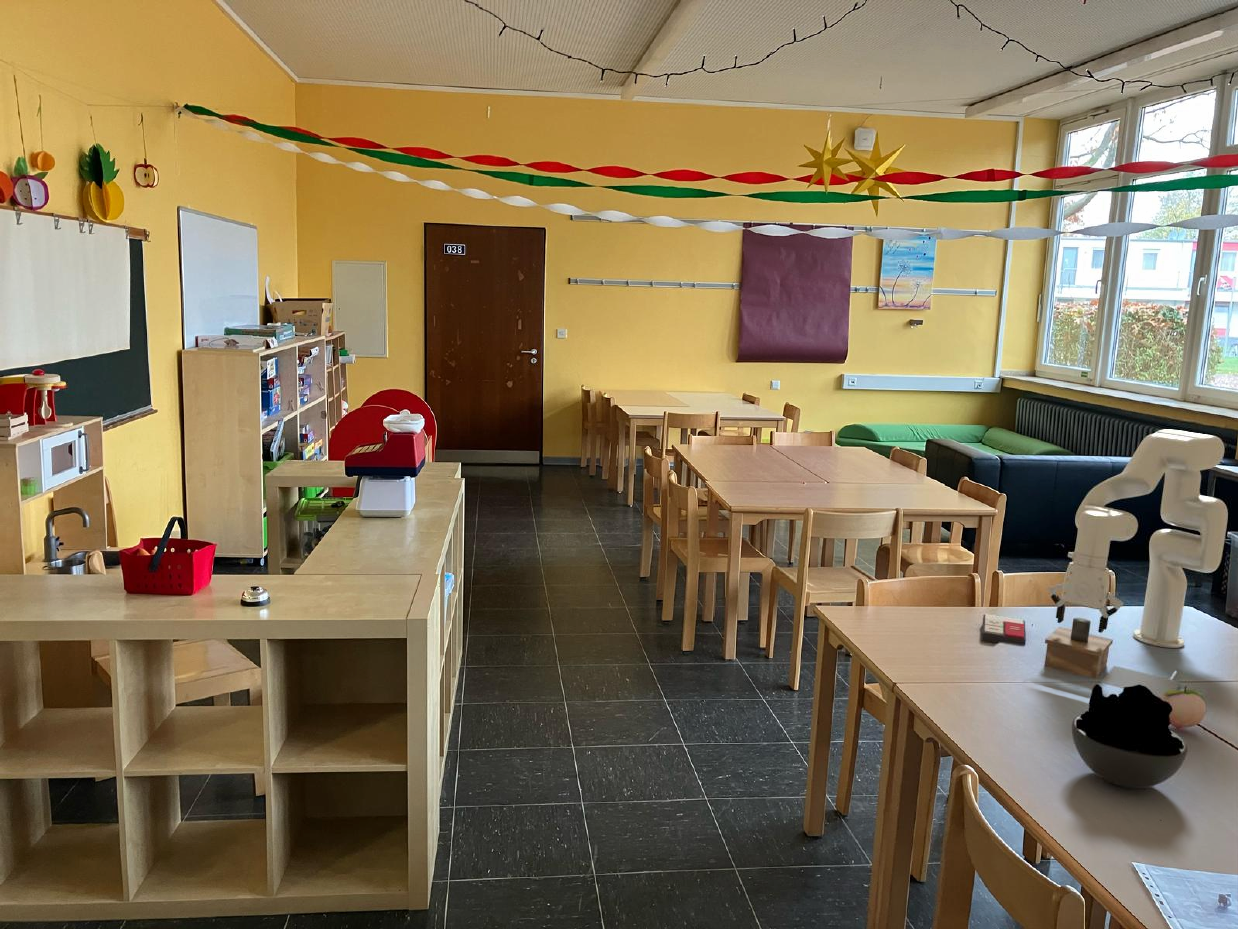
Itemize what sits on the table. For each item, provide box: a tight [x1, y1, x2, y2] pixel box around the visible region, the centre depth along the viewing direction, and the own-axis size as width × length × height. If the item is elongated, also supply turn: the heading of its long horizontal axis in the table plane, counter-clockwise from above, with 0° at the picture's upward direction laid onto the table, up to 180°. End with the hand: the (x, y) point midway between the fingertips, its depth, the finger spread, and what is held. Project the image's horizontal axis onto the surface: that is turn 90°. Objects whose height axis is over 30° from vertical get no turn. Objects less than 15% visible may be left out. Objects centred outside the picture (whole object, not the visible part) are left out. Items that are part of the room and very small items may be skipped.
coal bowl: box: [1071, 683, 1189, 789], centre depth 193 cm, size 20×20×19 cm
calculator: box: [980, 613, 1027, 646], centre depth 275 cm, size 11×4×15 cm
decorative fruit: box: [1161, 685, 1207, 730], centre depth 219 cm, size 9×8×10 cm
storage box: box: [1044, 643, 1110, 680], centre depth 253 cm, size 12×12×7 cm
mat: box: [1100, 665, 1181, 698], centre depth 244 cm, size 15×15×1 cm
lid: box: [1044, 617, 1114, 657], centre depth 252 cm, size 13×13×7 cm
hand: (1080, 626), depth 251 cm, fingers open, 9 cm apart
